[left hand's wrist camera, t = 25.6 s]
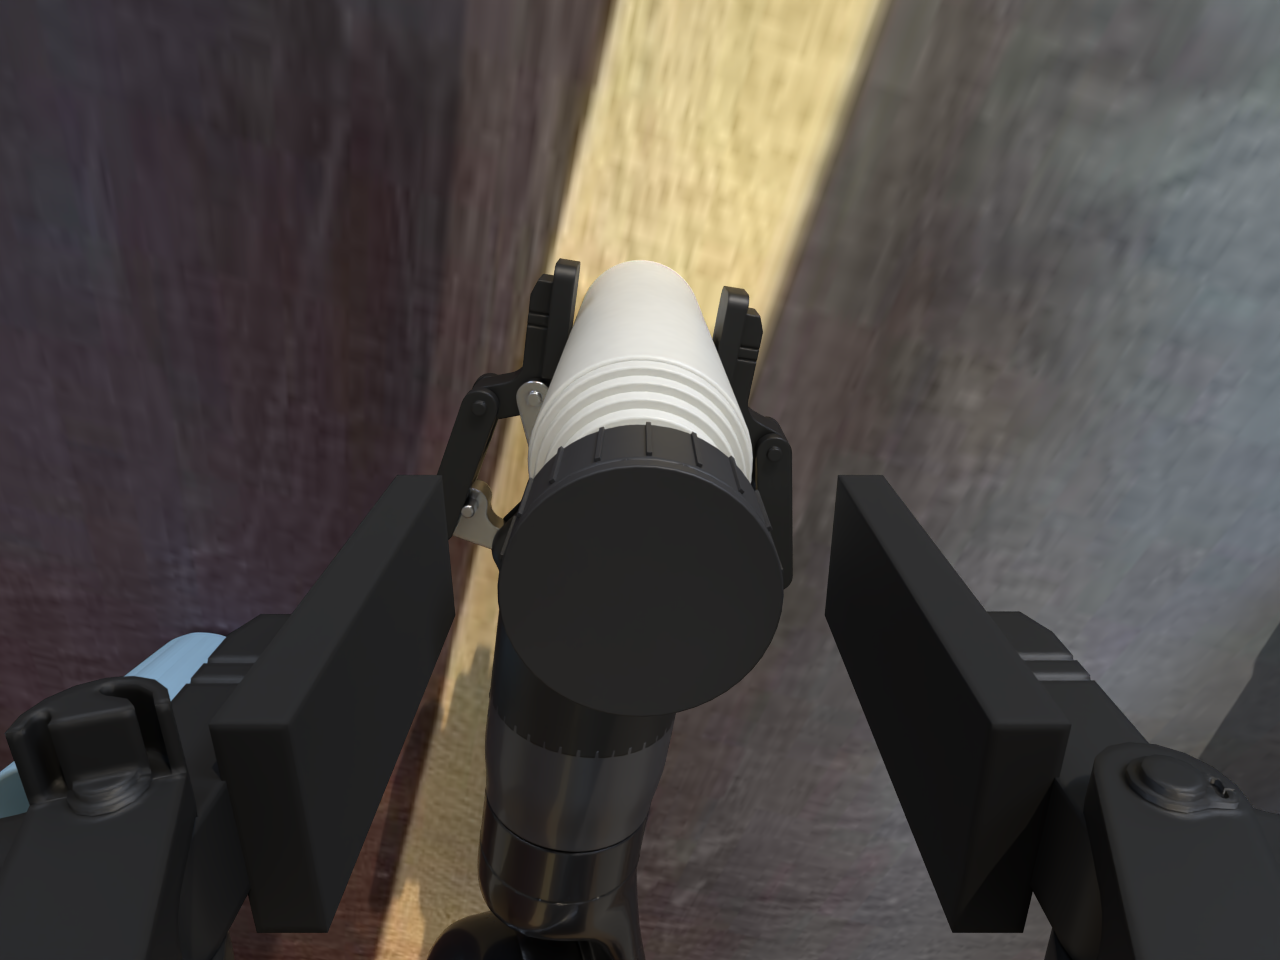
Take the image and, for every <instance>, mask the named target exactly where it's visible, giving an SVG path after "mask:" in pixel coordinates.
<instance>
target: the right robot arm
mask: <svg viewBox="0 0 1280 960" xmlns="http://www.w3.org/2000/svg"><path fill="white" fill-rule="evenodd" d="M579 272H580V262H579V261H573V260H567V259H561V258H560V259H559V260H558V262H557V263H556V266H555V271H554V275H548V274H543V275H542V276H541V277H540V278H539V280H538V282H537V283H536V285H535V287H534V289H533V291H532V293H531V296H530V305H529V314H528V325H527V332H526V342H525V351H524V360H523V367H522V368H520V369H519V370H517V371H515V372H512V373H507V374H502V375H497V374H494V373H487V374H484V375H482V376H480V377H479V378H478V380H477V381H476V382H475V384H474V386H473V388H472V390H471V391H469V392H468V393H467V395H466V396H465V397H464V399H463V401H462V404H461V407H460V410H459V412H458V415H457V418H456V421H455V424H454V427H453V430H452V433H451V436H450V439H449V441H448V444H447V447H446V450H445V453H444V456H443V459H442V462H441V465H440V468H439V470H438V473H437V475H442V481H443V492H444V502H445V513H446V523H447V534H448V540H449V539H450V538H451V537H452V535H453V536H456V537H459V538H461V539H464V540H467V541H470V542H472V543H475V544H478V545H481V546H484V547H486V548H489V549H492V555H493V559H494V561H495V563H496V565H497V567H498V569H499V570H500V566H501V562H502V559H500V554H501V551H502V548H503V545H504V542H505V539H506V536H507V534H508V531H509V528H510V525H511V522H512V519H513V516H516V515H517V512H518V509H519V506H520V503H521V502H519V503H518V504H517V505H516V506H515V507H514V508H513V509H512V510H511V511H510V512H509V513H508V514H507V515H506V516H505V517H504V518H500V517H499V516H497V515H496V514H495V513H494V511H493V510H492V507H491V499H492V492H491V489H490V487H489V486H488V485H487V484H486V483H485V482H483V481H481V480H478V479H477V477H478V474H479V471H480V468H481V466H482V463H483V460H484V457H485V455H486V452H487V449H488V446H489V444H490V441H491V438H492V435H493V433H494V430H495V427H496V424H497V422H498V419H502V418H508V417H513V416H518V415H520V416H521V420H522V424H523V428H524V431H525V435H526V439H527V443H528V447H529V442H530V438H531V434H532V430H533V427H534V425H535V422H536V419H537V417H538V414H539V412H540V409H541V407H542V404H543V402H544V399H545V396H546V394H547V391H548V389H549V386H550V384H551V381H552V379H553V376H554V373H555V371H556V368H557V366H558V363H559V361H560V358H561V356H562V353H563V350H564V348H565V345H566V343H567V340H568V338H569V335H570V333H571V330H572V326H573V318H574V311H575V303H576V295H577V287H578V280H579ZM748 306H749V295H748V293H747V292H746V291H745V290H744V289H740V288H734V287H728V286H724V287H723V290H722V293H721V298H720V303H719V308H718V313H717V318H716V323H715V329H714V334H713V339H712V340H713V342H714V345H715V347H716V350H717V352H718V355H719V357H720V360H721V363H722V365H723V368H724V370H725V373H726V375H727V378H728V380H729V383H730V385H731V388H732V390H733V393H734V395H735V398H736V400H737V403H738V405H739V408H740V410H741V413H742V416H743V418H744V421H745V423H746V426H747V428H748V431H749V436H750V440H751V444H752V455H753V463H752V477H751V485H752V487H753V489H754V491H756V490H758V491H759V493H760V496H761V499H762V501H763V504H764V507H765V510H766V513H767V516H768V518H769V521H770V524H771V527H772V531H770V533H771V536H772V539H773V542H774V545H775V548H776V551H777V554H778V556H779V559H780V562H781V565H782V568H783V574H782V576H783V589H785V588H787V587H788V586H789V585H790V583H791V581H792V577H793V562H792V450H791V447H790V445H789V443H788V441H787V439H786V437H785V435H784V433H783V431H782V429H781V427H780V426H779V424H778V422H777V421H776V420H775V419H773V418H771V417H764V416H762V415H760V414H758V413H757V412H755V411H753V410H752V409H750V408H749V407H748V399H749V394H750V389H751V385H752V380H753V376H754V371H755V366H756V360H757V357H758V352H759V348H760V343H761V339H762V334H763V330H762V324H761V318H760V315H759V314H758V313H757V311H756V310H755V309H753V308H748ZM675 715H676V713H672V714H666V715H660V716H647V717H637V716H622V715H615V714H608V713H604V712H601V711H597V710H593V709H590V708H587V707H585V706H582V705H579V704H577V703H575V702H573V701H571V700H569V699H567V698H565V697H563V696H561V695H560V694H558V693H557V692H555V691H554V690H552V689H551V688H549V687H548V686H546V685H545V684H544V683H543V682H542V681H541V680H539V679H538V678H537V677H536V676H535V675H534V674H533V673H532V672H531V671H530V670H529V669H528V667H527V666H526V665H525V664H524V663H523V662H522V660H521V659H520V657H519V656H518V654H517V653H516V651H515V650H514V648H513V646H512V644H511V642H510V640H509V638H508V636H507V634H506V632H505V629H504V626H503V623H502V620H501V616H500V610H499V616H498V625H497V634H496V643H495V652H494V661H493V670H492V679H491V688H490V693H489V707H488V715H487V724H486V735H485V762H486V790H485V799H484V807H483V816H482V825H481V831H480V839H479V848H478V864H477V865H478V880H479V885H480V889H481V892H482V895H483V898H484V900H485V902H486V904H487V906H488V907H489V909H490V910H491V911H488V912H483V913H479V914H475V915H471V916H468V917H465V918H463V919H461V920H458V921H456V922H454V923H453V924H451V925H450V926H449V927H447V928H446V929H445V930H444V931H443V932H442V933H441V935H440V936H439V937H438V938H437V940H436V941H435V943H434V945H433V946H432V948H431V950H430V952H429V955H428V957H427V960H646V959H645V954H644V949H643V944H642V938H641V932H640V925H639V913H638V899H637V865H638V860H639V856H640V849H641V844H642V839H643V835H644V830H645V825H646V820H647V815H648V811H649V808H650V804H651V801H652V798H653V795H654V793H655V791H656V788H657V786H658V783H659V780H660V778H661V775H662V772H663V769H664V765H665V761H666V757H667V752H668V747H669V743H670V738H671V734H672V729H673V724H674V720H675Z"/></svg>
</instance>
